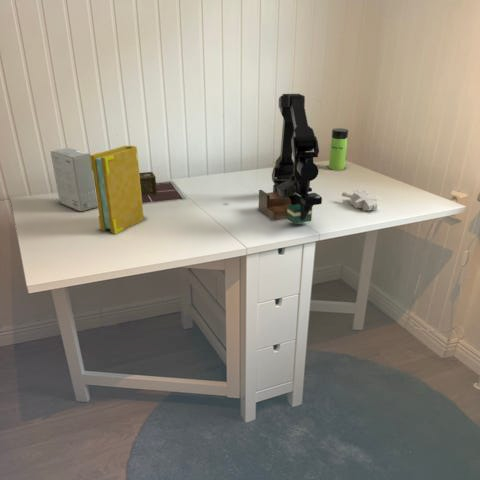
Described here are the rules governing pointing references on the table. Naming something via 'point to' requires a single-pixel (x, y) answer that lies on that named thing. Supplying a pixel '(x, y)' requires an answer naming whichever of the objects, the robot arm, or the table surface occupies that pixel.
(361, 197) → the bunny figurine
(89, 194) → the hard drive box
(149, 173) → the wooden crate
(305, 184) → the robot arm
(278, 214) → the step shelf
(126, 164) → the book
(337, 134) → the tumbler
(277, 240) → the table surface
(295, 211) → the tea packet
